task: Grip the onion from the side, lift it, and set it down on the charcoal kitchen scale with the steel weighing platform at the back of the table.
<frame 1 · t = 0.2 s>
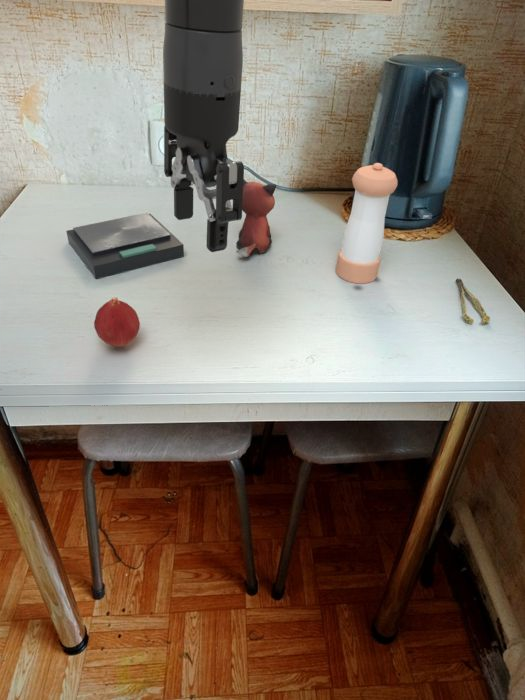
hand: (199, 233, 60), 18 cm above the table, tool pointing down, fingers open, 8 cm apart
onion: (120, 346, 71), on the table
pepper shaker: (355, 273, 90), on the table
scale: (125, 249, 91), on the table
tongs: (463, 303, 84), on the table
stuffed fox: (249, 249, 94), on the table
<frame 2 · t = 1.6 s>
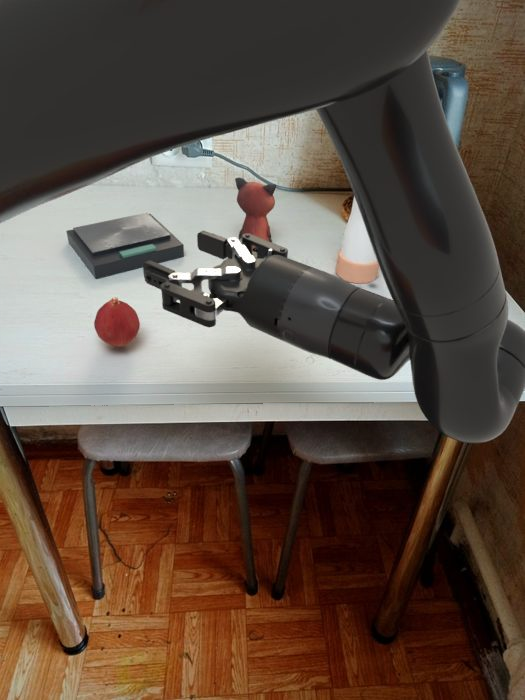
hand: (173, 253, 55), 18 cm above the table, tool horizontal, fingers open, 8 cm apart
nothing on the table moved.
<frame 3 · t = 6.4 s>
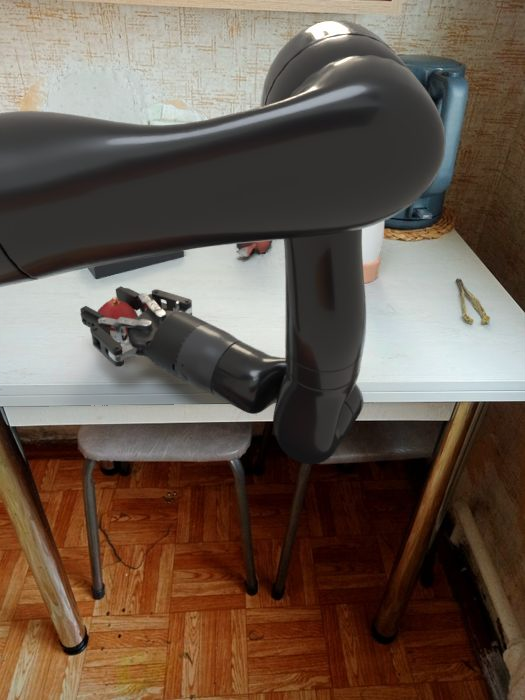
hand: (101, 303, 68), 6 cm above the table, tool horizontal, fingers closed on onion, 5 cm apart
onion: (120, 346, 71), on the table, touching gripper
everything else where it was.
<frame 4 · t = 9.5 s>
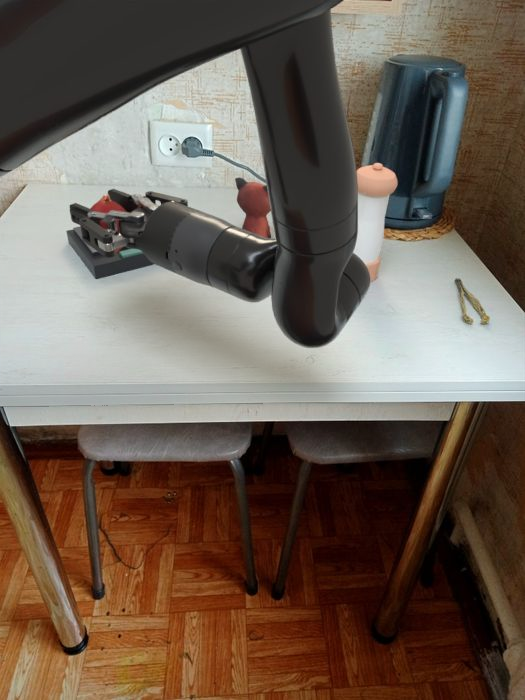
hand: (92, 204, 64), 18 cm above the table, tool horizontal, fingers closed on onion, 5 cm apart
onion: (113, 254, 67), point 11 cm above the table, touching gripper
everything else where it was.
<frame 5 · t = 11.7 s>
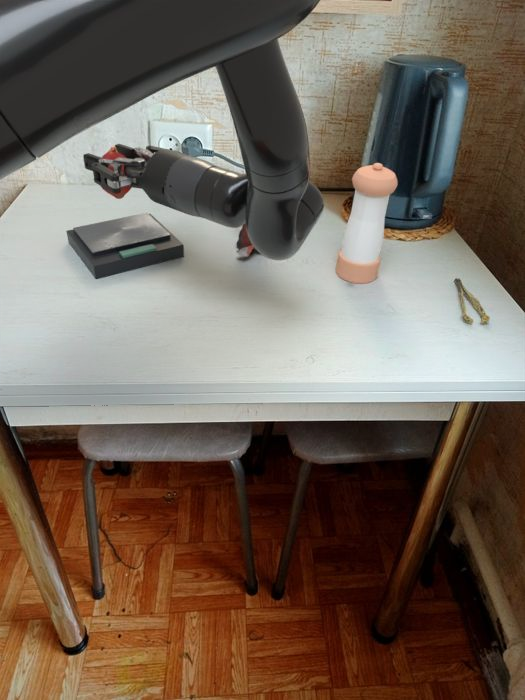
hand: (101, 155, 77), 18 cm above the table, tool horizontal, fingers closed on onion, 5 cm apart
onion: (118, 199, 80), point 11 cm above the table, touching gripper
everything else where it was.
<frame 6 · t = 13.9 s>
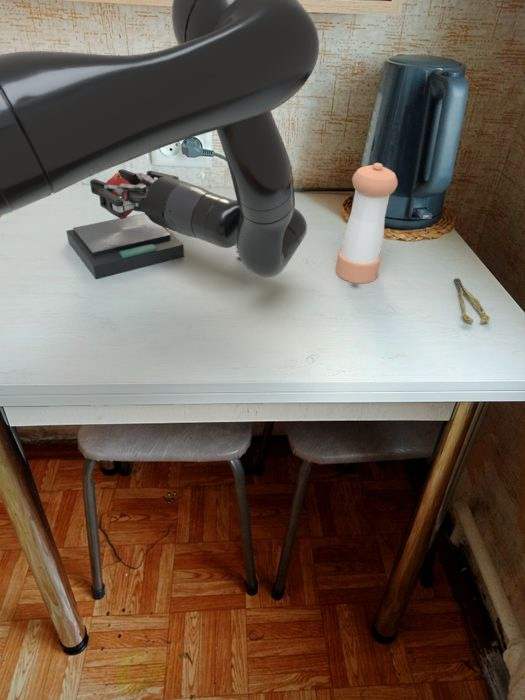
hand: (106, 180, 85), 12 cm above the table, tool horizontal, fingers closed on onion, 5 cm apart
onion: (122, 219, 88), point 6 cm above the table, touching gripper
everything else where it was.
when the fingers open (9 cm above the table, at t = 15.2 s): onion stays where it is, resting on scale.
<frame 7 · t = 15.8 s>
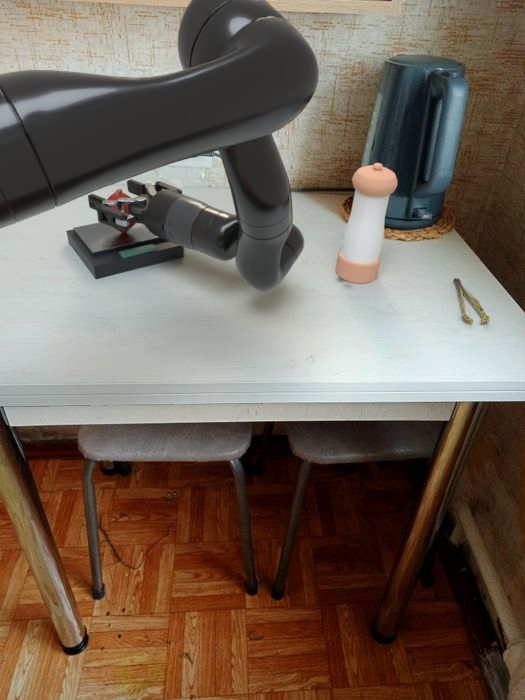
hand: (110, 192, 86), 10 cm above the table, tool horizontal, fingers open, 8 cm apart
onion: (123, 233, 89), point 3 cm above the table, touching scale
everything else where it was.
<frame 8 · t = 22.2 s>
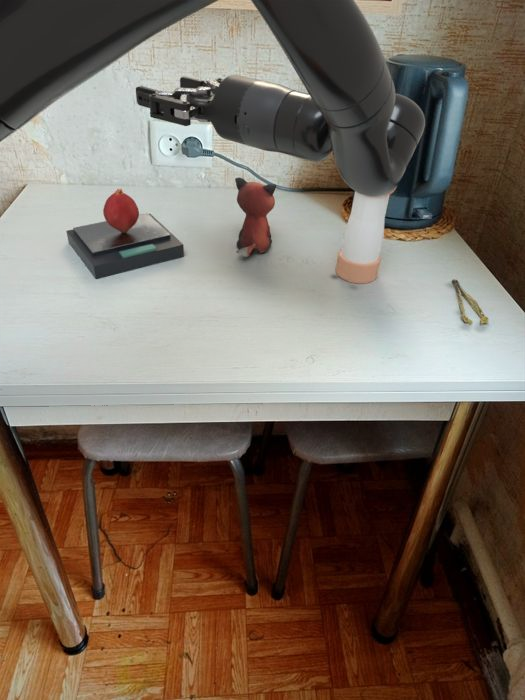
hand: (160, 89, 69), 28 cm above the table, tool horizontal, fingers open, 8 cm apart
nothing on the table moved.
at the end: onion inside the target area on the scale (0.6 cm from its centre), point 3.0 cm above the scale's base; the gripper is holding nothing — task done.
